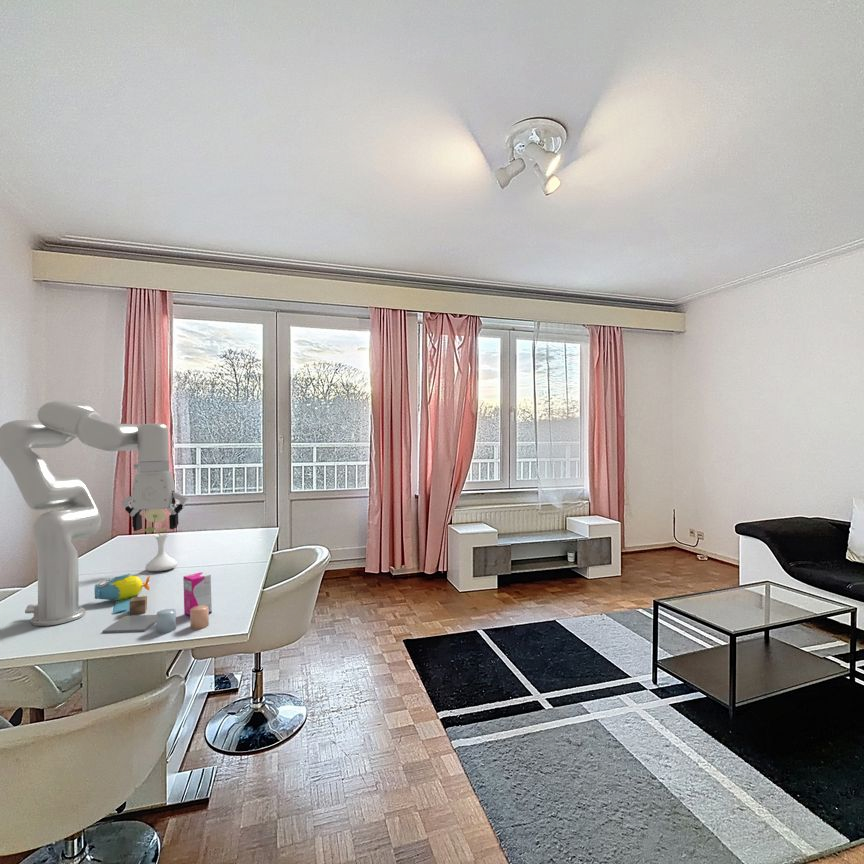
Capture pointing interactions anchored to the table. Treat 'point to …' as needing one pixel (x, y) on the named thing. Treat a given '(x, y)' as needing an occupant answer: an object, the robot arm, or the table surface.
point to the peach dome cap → (199, 617)
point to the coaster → (132, 624)
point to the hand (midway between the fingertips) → (155, 529)
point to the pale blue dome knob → (166, 621)
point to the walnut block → (138, 605)
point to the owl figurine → (120, 591)
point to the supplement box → (197, 591)
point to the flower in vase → (159, 543)
